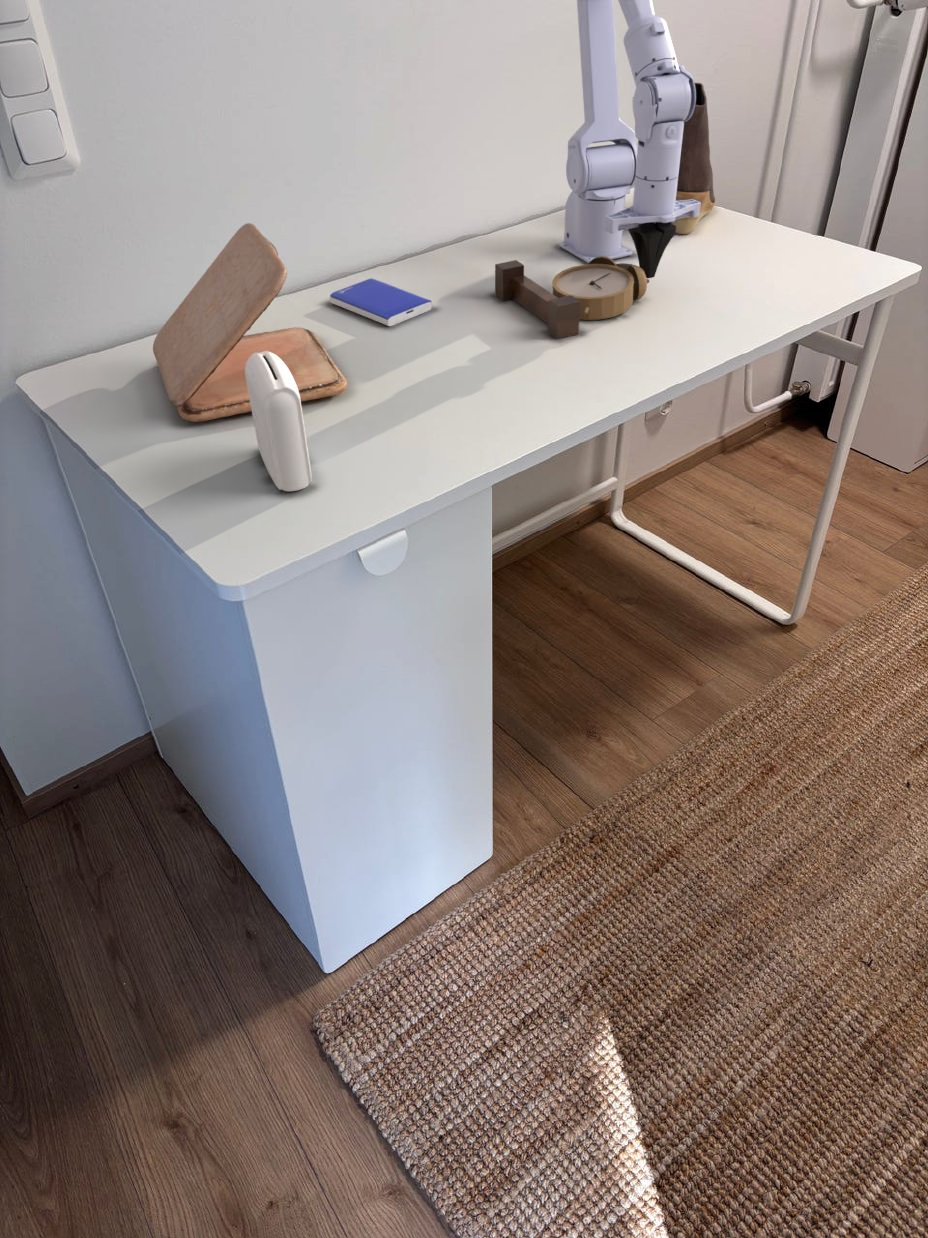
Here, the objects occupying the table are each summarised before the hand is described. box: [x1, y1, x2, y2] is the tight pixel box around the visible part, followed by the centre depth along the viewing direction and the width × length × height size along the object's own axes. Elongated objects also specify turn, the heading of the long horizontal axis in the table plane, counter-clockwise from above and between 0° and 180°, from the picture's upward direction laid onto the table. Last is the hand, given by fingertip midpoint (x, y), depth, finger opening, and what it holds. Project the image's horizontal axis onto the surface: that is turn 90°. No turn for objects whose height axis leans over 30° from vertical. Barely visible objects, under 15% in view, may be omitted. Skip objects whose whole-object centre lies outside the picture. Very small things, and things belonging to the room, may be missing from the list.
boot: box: [671, 82, 716, 235], centre depth 160 cm, size 9×24×20 cm, turn 168°
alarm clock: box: [551, 256, 650, 321], centre depth 137 cm, size 11×5×15 cm
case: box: [152, 222, 348, 423], centre depth 117 cm, size 20×21×16 cm
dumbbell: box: [494, 259, 580, 340], centre depth 134 cm, size 17×4×4 cm, turn 26°
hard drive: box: [329, 277, 432, 327], centre depth 138 cm, size 2×8×12 cm
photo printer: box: [245, 351, 313, 492], centre depth 101 cm, size 10×4×12 cm, turn 22°
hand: (647, 275), depth 140 cm, fingers closed
